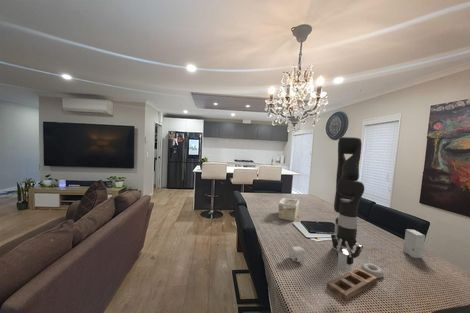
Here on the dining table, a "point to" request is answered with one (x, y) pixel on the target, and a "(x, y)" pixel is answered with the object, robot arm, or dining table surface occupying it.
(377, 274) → the donut
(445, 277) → the dining table surface
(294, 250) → the elephant figurine
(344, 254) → the silver metal block
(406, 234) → the skincare box
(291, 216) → the storage basket
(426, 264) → the dining table surface
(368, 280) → the wooden compartment tray
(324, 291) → the dining table surface
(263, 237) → the dining table surface
